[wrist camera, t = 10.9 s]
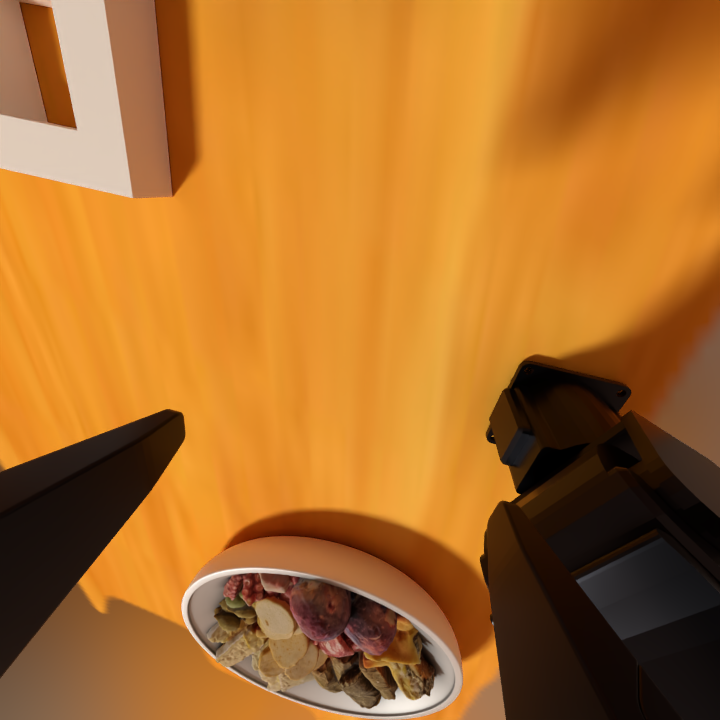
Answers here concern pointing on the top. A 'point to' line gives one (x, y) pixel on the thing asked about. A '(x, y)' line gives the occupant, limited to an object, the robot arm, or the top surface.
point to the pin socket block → (89, 99)
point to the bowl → (325, 628)
